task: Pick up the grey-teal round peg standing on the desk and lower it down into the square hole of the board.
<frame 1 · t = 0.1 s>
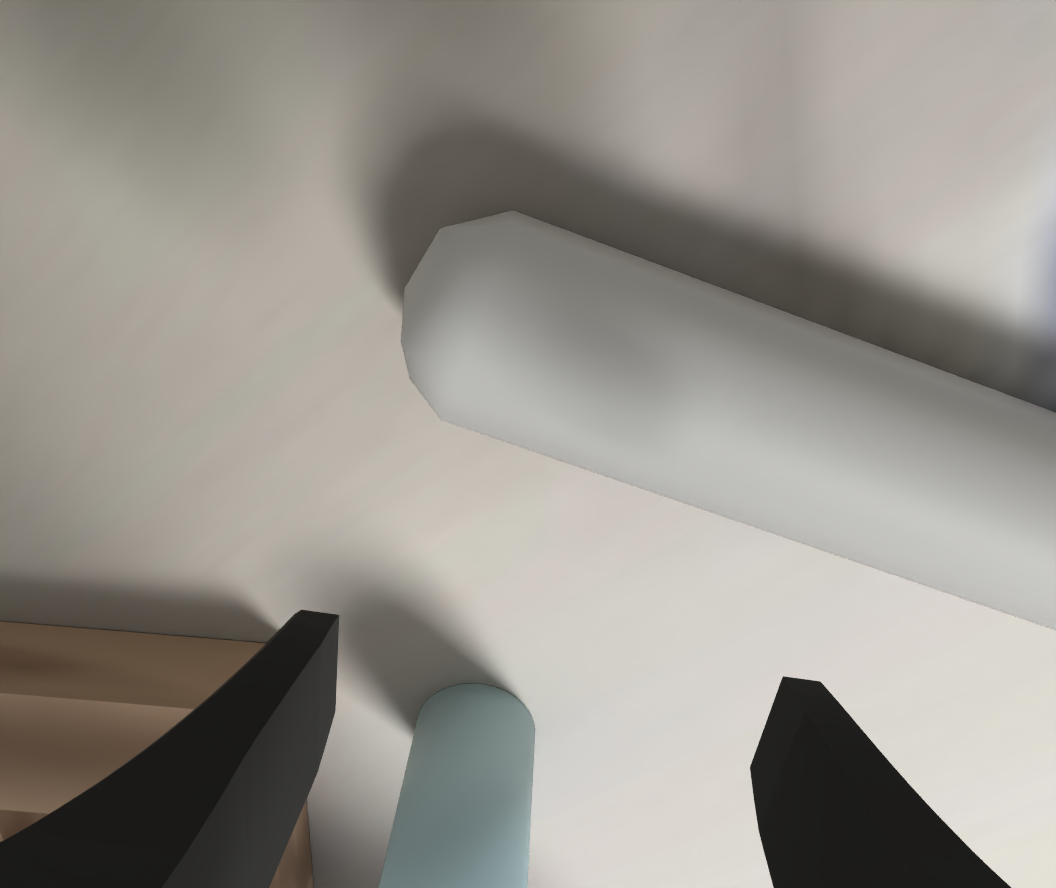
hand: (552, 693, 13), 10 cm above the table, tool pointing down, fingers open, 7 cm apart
socket board: (145, 803, 29), on the table
tube: (857, 421, 22), on the table
peg: (475, 728, 27), on the table
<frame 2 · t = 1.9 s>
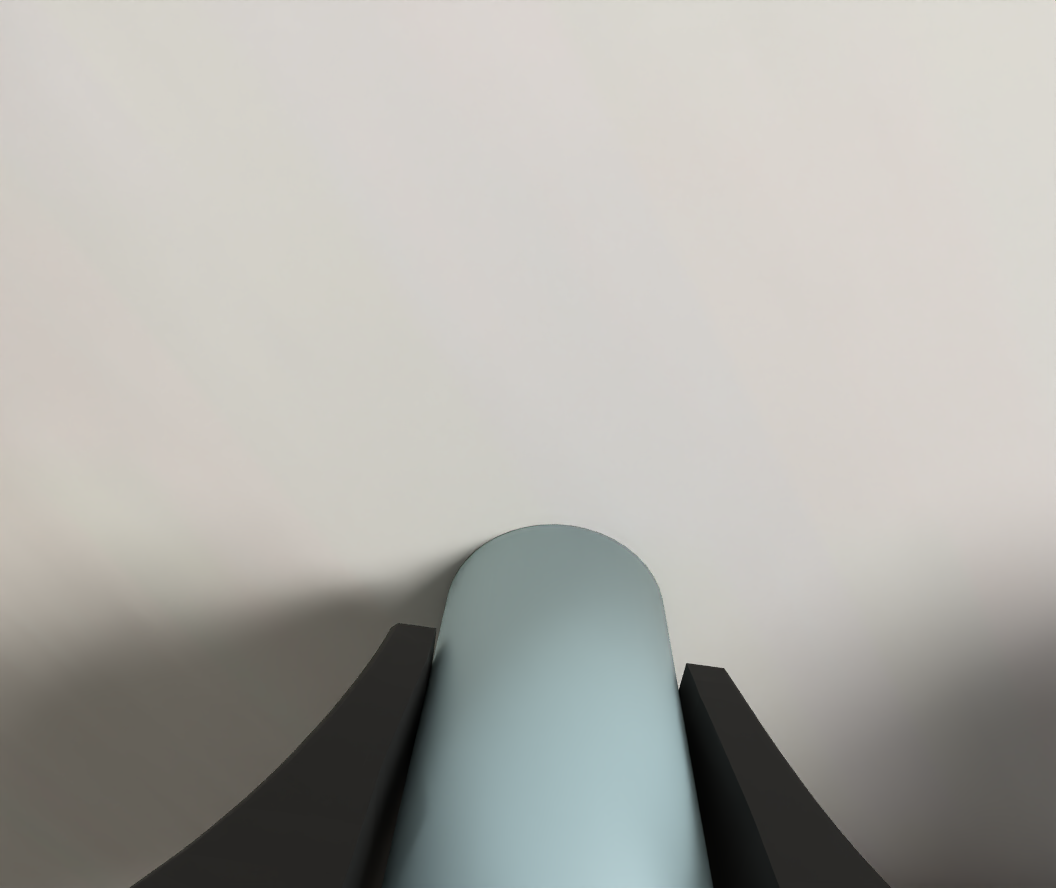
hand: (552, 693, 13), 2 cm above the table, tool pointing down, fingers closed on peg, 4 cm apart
peg: (554, 618, 15), on the table, touching gripper
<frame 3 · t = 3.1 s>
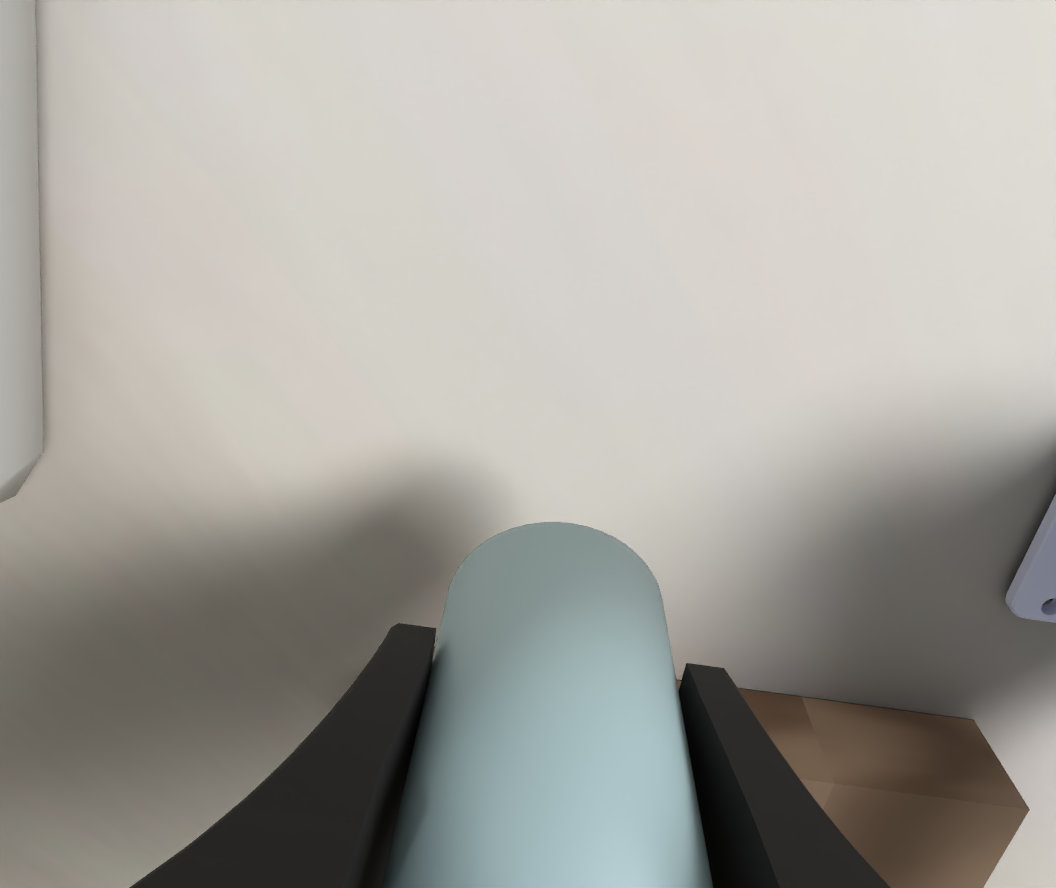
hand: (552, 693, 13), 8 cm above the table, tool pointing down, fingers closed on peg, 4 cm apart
socket board: (654, 826, 25), on the table
peg: (554, 614, 15), point 6 cm above the table, touching gripper
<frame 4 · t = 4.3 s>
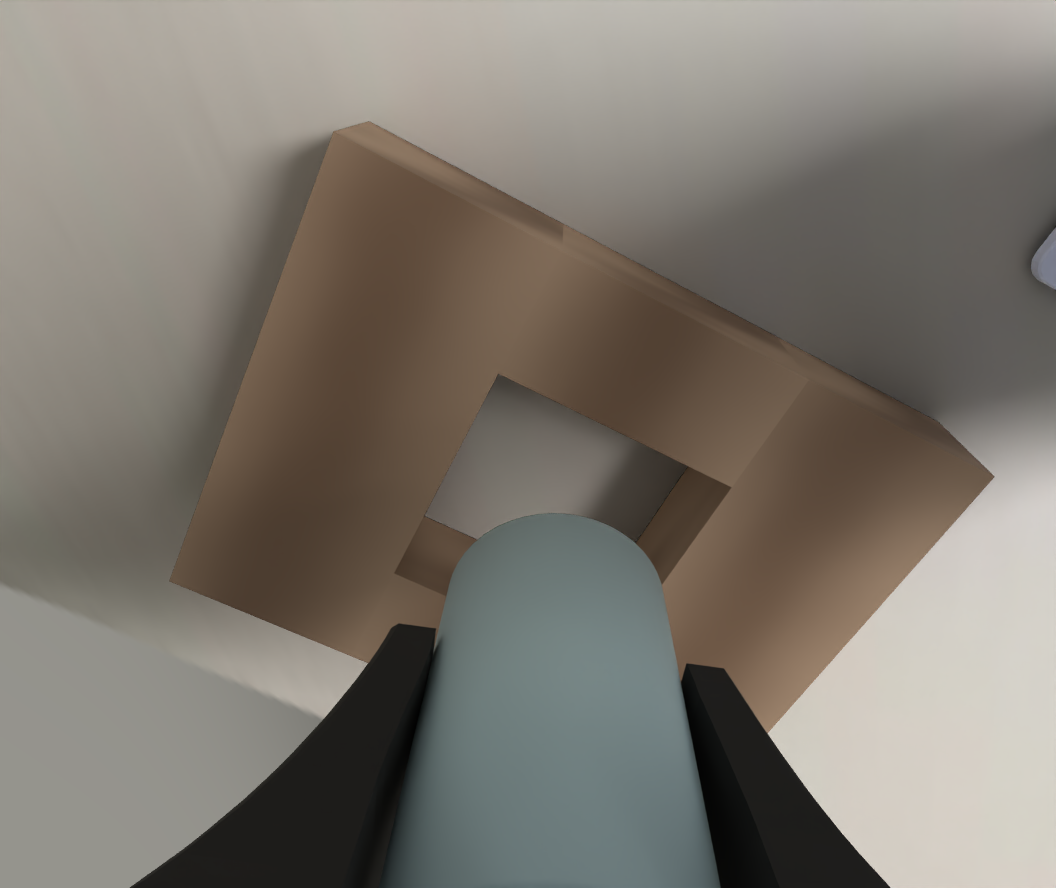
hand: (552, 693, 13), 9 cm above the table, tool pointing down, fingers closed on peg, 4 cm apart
socket board: (557, 473, 22), on the table
peg: (555, 608, 15), point 7 cm above the table, touching gripper
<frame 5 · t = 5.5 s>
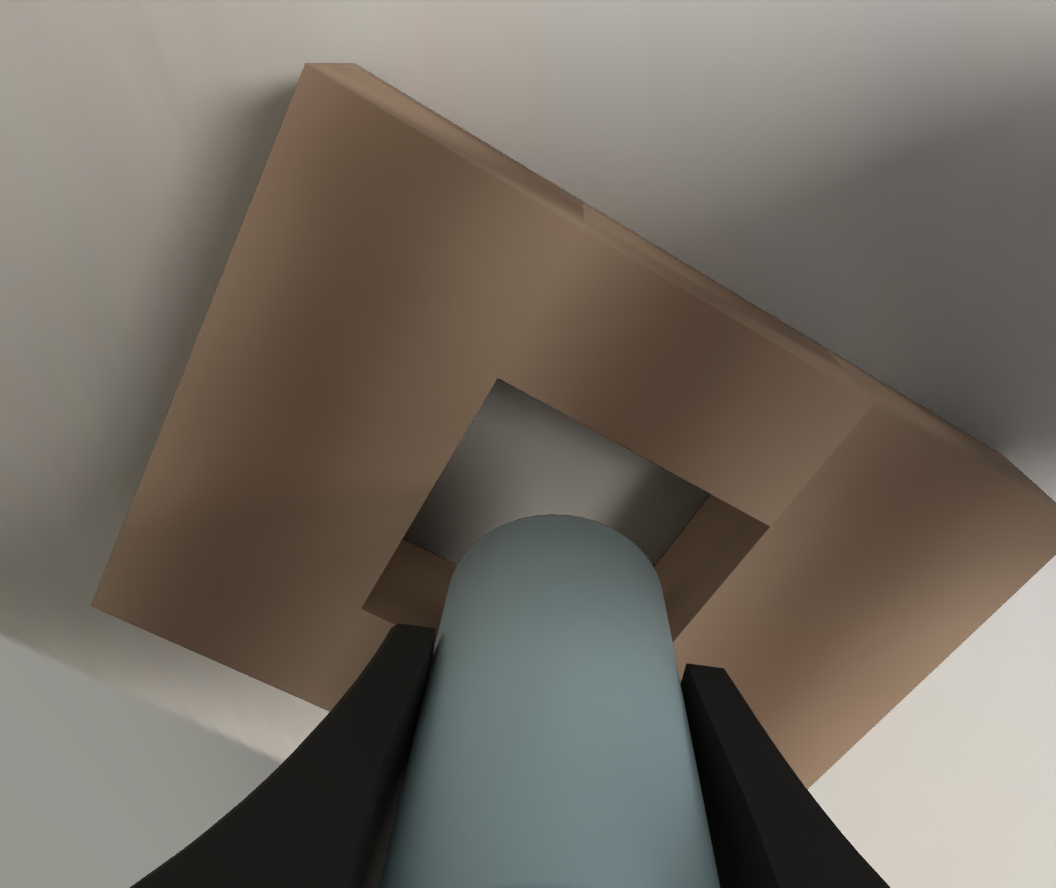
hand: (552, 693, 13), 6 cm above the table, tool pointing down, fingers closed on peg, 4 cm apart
socket board: (558, 496, 19), on the table
peg: (554, 609, 15), point 4 cm above the table, touching gripper
when the fingers open (4 cm above the table, at t = 6.5 s): peg drops 2 cm, resting in socket board.
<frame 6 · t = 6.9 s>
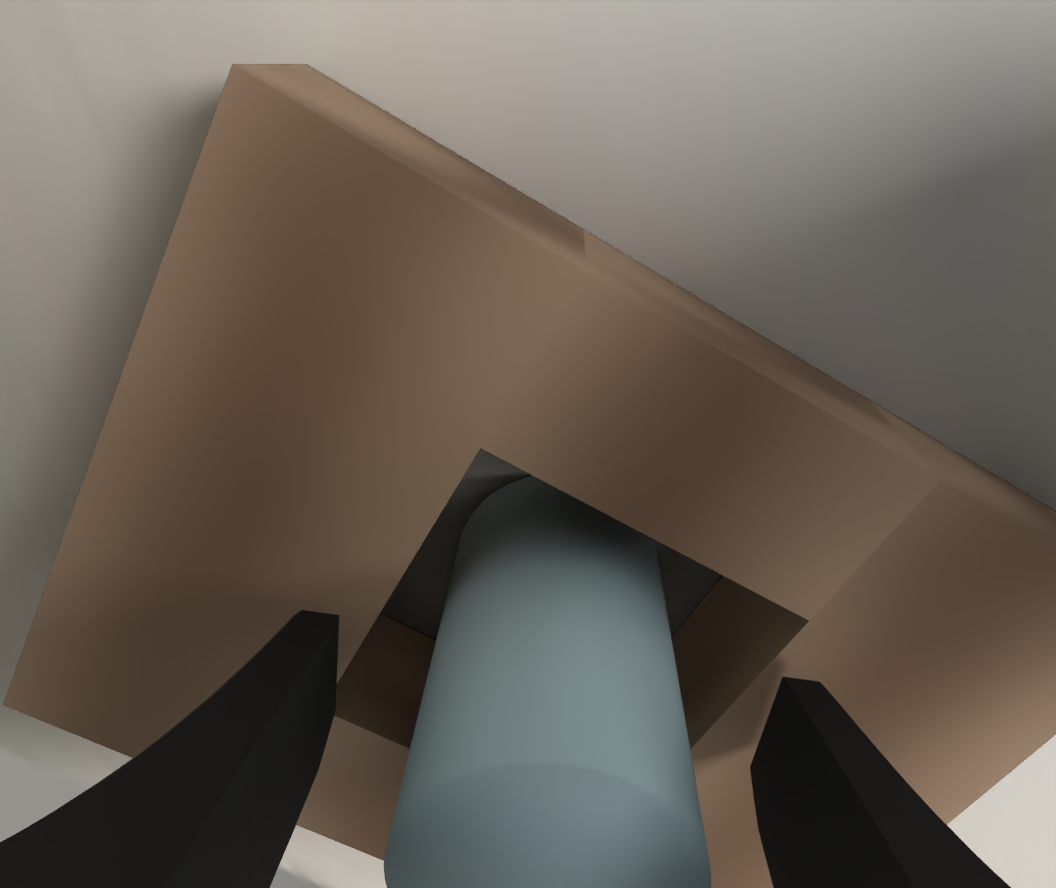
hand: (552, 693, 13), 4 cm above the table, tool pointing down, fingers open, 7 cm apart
socket board: (555, 565, 16), on the table
peg: (557, 561, 16), resting in socket board
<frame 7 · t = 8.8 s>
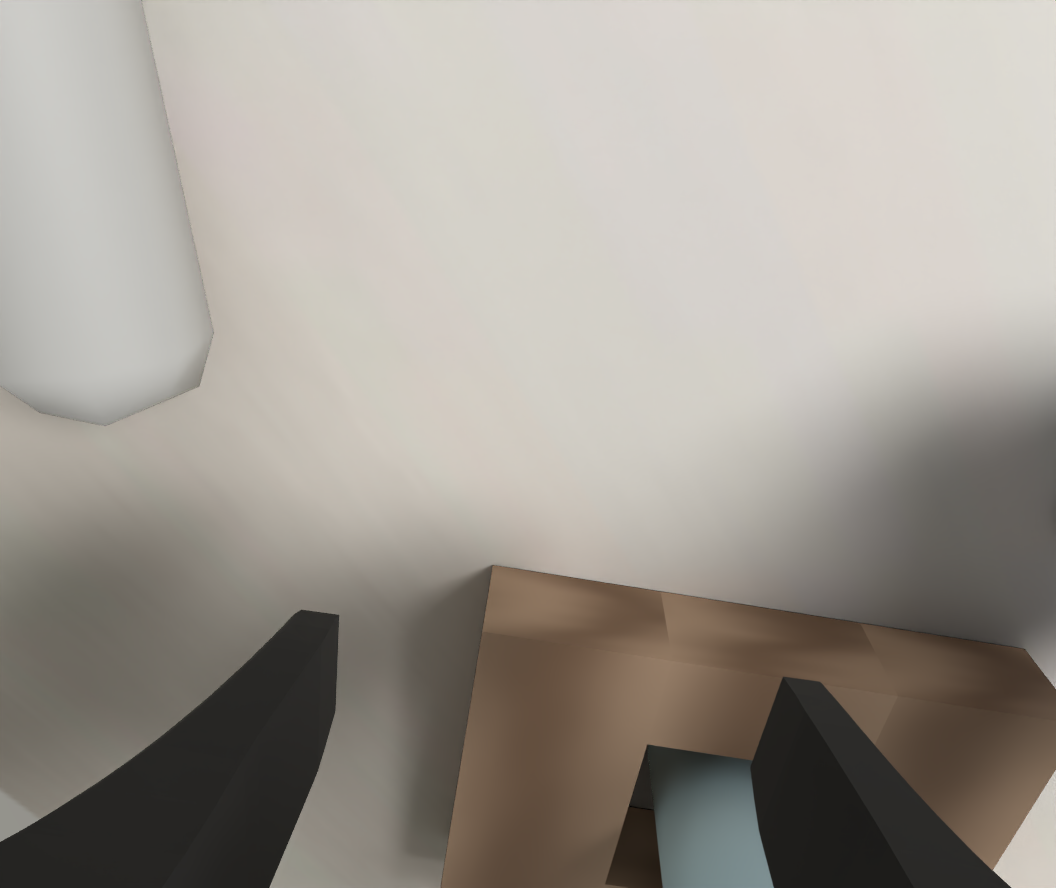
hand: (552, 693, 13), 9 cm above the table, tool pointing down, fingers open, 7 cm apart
socket board: (709, 753, 26), on the table
peg: (709, 750, 26), resting in socket board
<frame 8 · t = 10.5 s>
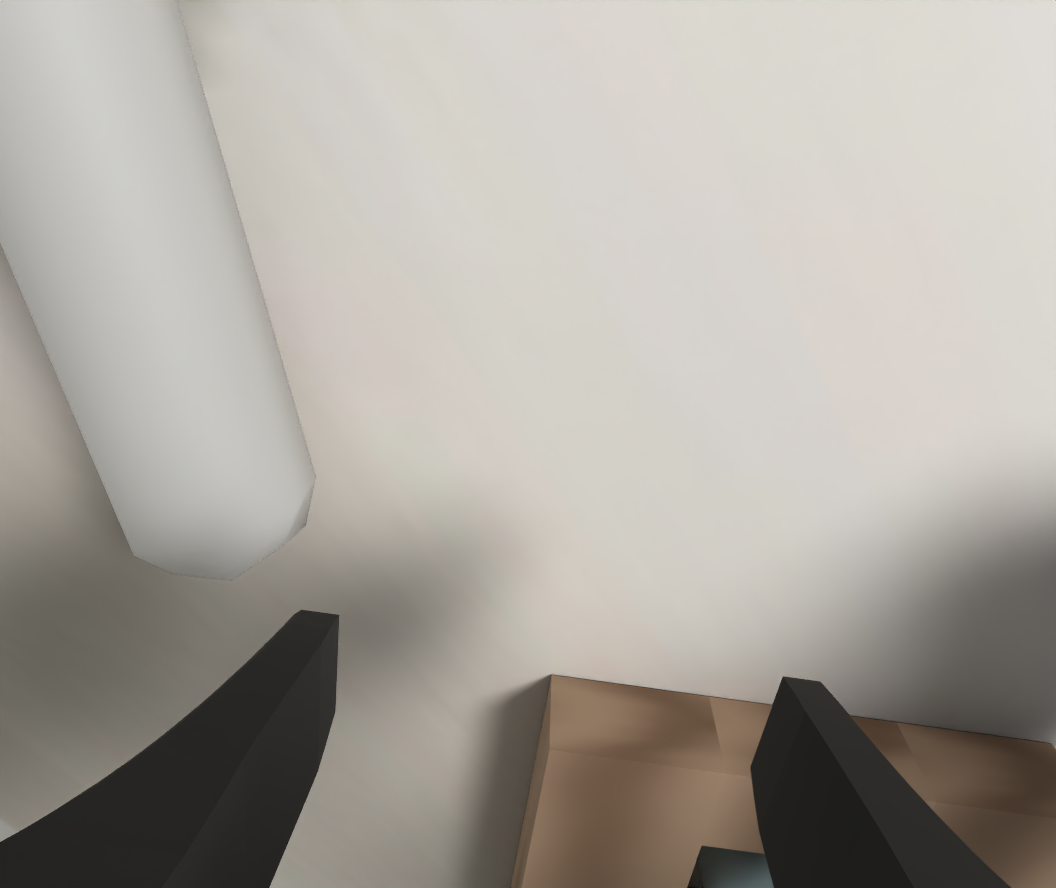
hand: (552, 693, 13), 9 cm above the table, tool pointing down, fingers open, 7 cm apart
socket board: (753, 837, 27), on the table
tube: (121, 32, 18), on the table
peg: (753, 835, 27), resting in socket board
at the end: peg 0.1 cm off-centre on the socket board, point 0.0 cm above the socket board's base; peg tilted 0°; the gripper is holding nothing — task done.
